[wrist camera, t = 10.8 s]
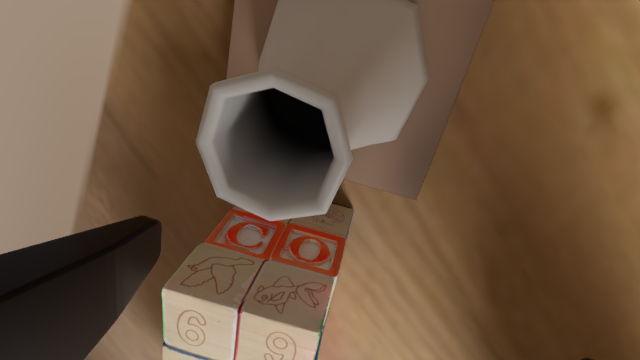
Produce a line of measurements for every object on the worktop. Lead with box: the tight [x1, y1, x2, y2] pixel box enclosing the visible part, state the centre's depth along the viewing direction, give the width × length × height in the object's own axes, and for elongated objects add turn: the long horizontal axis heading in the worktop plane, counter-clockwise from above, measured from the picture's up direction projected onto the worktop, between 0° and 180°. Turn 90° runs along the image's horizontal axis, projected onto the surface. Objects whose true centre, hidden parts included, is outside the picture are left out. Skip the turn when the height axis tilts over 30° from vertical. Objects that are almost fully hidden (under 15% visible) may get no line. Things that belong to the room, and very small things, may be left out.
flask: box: [195, 0, 429, 221], centre depth 12 cm, size 7×7×10 cm
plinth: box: [226, 0, 495, 200], centre depth 17 cm, size 10×10×2 cm
